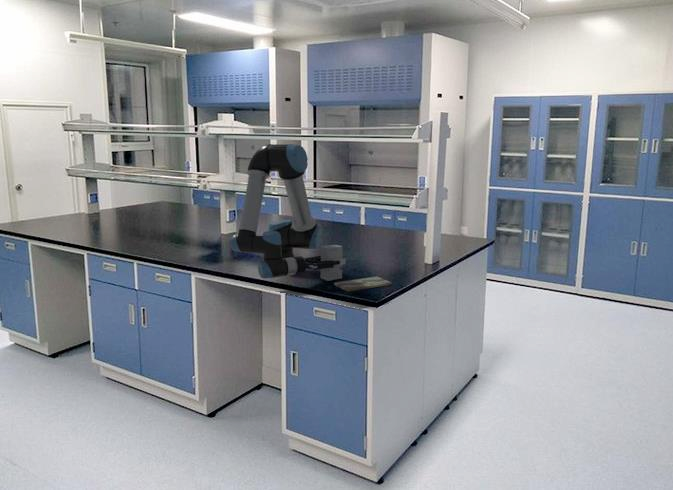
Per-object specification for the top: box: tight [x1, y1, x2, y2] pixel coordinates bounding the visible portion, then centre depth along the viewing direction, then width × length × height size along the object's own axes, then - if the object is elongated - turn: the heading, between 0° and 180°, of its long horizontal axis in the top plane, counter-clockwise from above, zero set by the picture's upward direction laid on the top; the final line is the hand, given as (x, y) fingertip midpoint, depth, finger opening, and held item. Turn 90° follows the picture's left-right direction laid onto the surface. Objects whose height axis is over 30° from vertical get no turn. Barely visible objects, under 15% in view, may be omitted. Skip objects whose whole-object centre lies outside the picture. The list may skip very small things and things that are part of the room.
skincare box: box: [320, 244, 343, 282], centre depth 243 cm, size 8×6×15 cm
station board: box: [333, 275, 392, 292], centre depth 239 cm, size 12×22×1 cm, turn 118°
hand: (341, 259), depth 245 cm, fingers closed on skincare box, 6 cm apart
